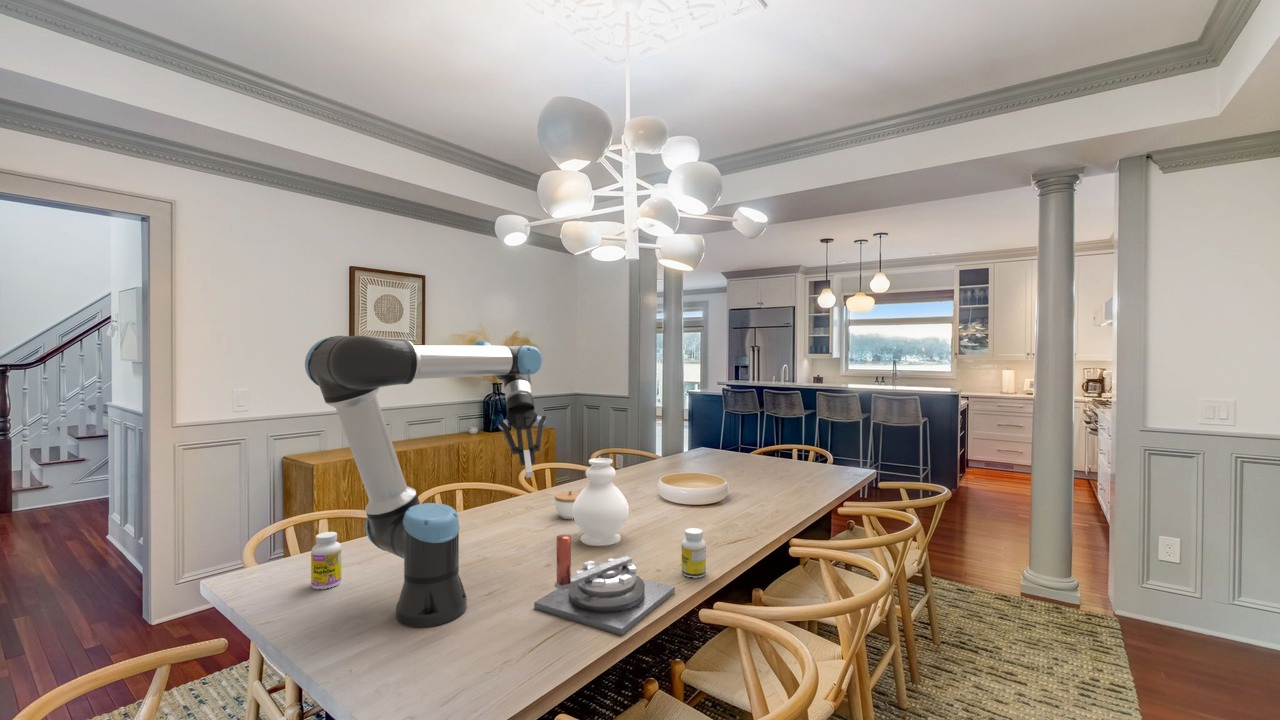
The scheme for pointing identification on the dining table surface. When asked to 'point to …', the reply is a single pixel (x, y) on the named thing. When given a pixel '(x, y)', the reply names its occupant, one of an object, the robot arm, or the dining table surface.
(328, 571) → the supplement bottle
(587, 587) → the red grip crank lever
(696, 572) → the pill bottle
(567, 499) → the lidded jar
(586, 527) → the decorative vase
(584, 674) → the dining table surface
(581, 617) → the grey crank base
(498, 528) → the dining table surface
